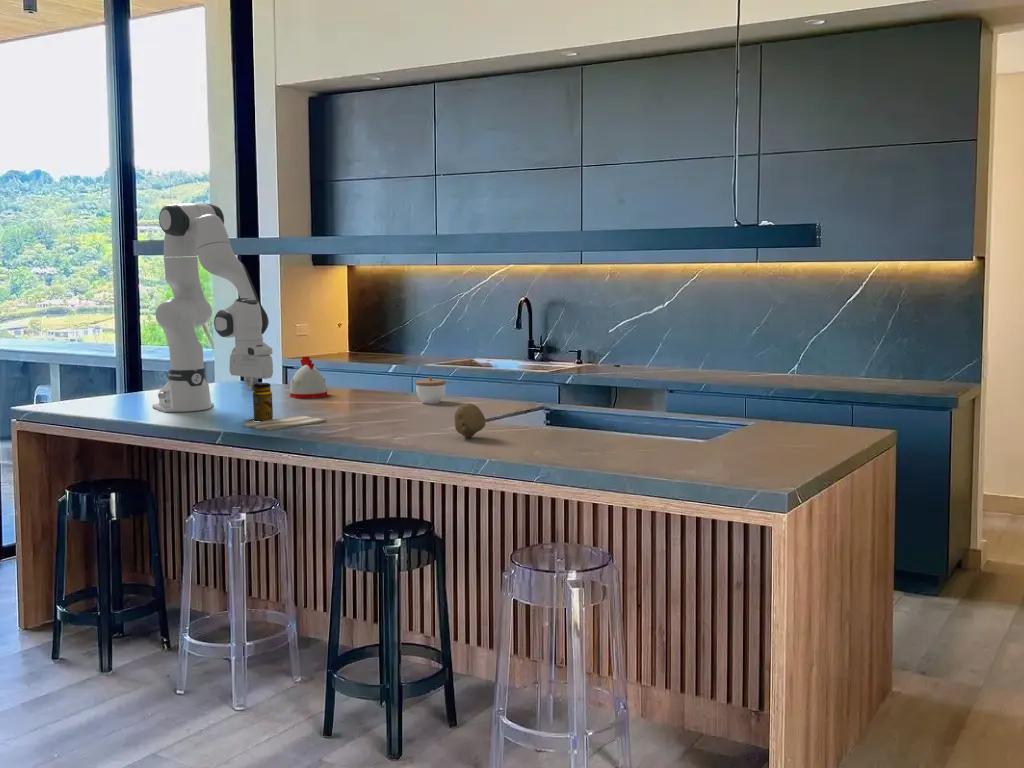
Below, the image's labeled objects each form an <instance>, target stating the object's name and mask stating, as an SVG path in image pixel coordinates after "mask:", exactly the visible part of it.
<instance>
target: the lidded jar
mask: <svg viewBox="0 0 1024 768" xmlns="http://www.w3.org/2000/svg"><path fill="white" fill-rule="evenodd" d="M446 384H447V383H446V380H444V379H439V378H433V376H429V377H428V379H426V378H425V379H418V380H416V381H415V391H416V395H417V397H418V399H419V400H420V401H421V402H422V404H427V405H429V404H432V405H433V404H439V403H440V402H441V401H442V399H443V398H444V396H445V394H446Z"/></svg>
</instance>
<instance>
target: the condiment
mask: <svg viewBox="0 0 1024 768" xmlns="http://www.w3.org/2000/svg"><path fill="white" fill-rule="evenodd" d="M252 401H253V404H252V405H253V418H245V419H244V421H246V422H247V423H253V422H254V421H266V420H273V419H274V414H273V413H274V412H273V411H274V409H273V393H272V391H271V384H270V383H268V382H257V384H254V391H252ZM253 420H254V421H253Z"/></svg>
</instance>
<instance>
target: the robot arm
mask: <svg viewBox="0 0 1024 768" xmlns="http://www.w3.org/2000/svg"><path fill="white" fill-rule="evenodd" d="M158 222H159V227H160V228H161V230H162V232H163V233H164V239H163V263H164V266H163V267H164V276H165V277H164V278H165V282H166V283H167V284H168V285H169V286H170V289H171V292H172V294H173V297H172V298H169V299H167V300H165V301H162V302H161V303H159V305H158V306H157V308H156V310H155V319H156V322H157V323H158V325H159V326H160V327H161V328H162V329H163V332H164V335H165V337H166V341H167V344H168V349H169V363H170V365H169V366H170V369H169V370H167V375H168V376H167V377H168V378H167V380H168V381H167V382H166V383H165V384H164V386H162V387H161V389H160V390H159V392H158V393H157V397H158V400H159V401H158V403H155V404H152V408H153V409H156V410H158V411H160V412H163V413H171V412H172V413H174V412H178V413H179V412H181V413H182V412H183V413H184V412H197V411H205V410H209V409H211V408H212V407H215V403H213V402H212V399H211V398H212V397H211V392H210V384H209V383H208V382H207V381H206V379H207V377H206V375H207V372H206V368H205V367H204V366H205V365H204V363H205V362H204V349H203V348H204V347H203V344H202V343H201V342H200V341H199V339H198V337H197V334H196V333H197V332H196V330H195V329H196V328H199V327H202V326H203V325H205V324H206V323H208V322H209V321H210V319H211V318H212V314H213V311H212V306H211V304H210V303H209V301H207V299H206V297H205V294H204V291H203V287H202V285H201V284H202V283H201V281H200V275H199V274H200V273H199V263H200V266H201V267H202V268H203V269H204V270H205V271H207V272H208V273H209V274H212V275H214V276H217V277H220V278H223V279H225V280H226V281H228V282H230V283H231V284H232V285H234V287H235V289H236V291H237V293H238V296H239V298H236V299H234V302H233V303H232V304H231V305H229V306H227V307H225V308H223V309H220V310H218V311H217V312H216V314H215V316H214V320H213V325H214V330H215V332H216V333H217V334H218V336H220V337H221V338H226V339H227V338H234V344H235V345H234V346H235V347H233V349H232V350H231V354H230V356H229V373H230V375H231V376H237V377H242V378H243V381H244V383H245V385H246V391H248V392H249V391H250V392H254V384H257V383H259V379H261V380H267V379H271V378H273V374H274V364H273V363H274V362H273V361H274V360H273V357H272V355H273V348H272V347H271V346H270V345H268V344H266V342H264V337H263V335H264V333H265V332H267V328H268V326H269V323H270V322H269V317H268V313H267V312H266V310H265V308H264V307H263V305H262V303H261V302H260V299H259V296H258V294H257V291H256V289H255V286H254V283H253V281H252V277H250V274H249V271H248V270H247V268H246V266H245V264H244V263H243V262H242V261H240V259H238V257H237V255H236V254H235V252H234V250H233V247H232V245H231V241H230V237H229V235H228V232H227V229H226V227H225V217H224V213H223V211H222V209H221V208H220V207H219V206H217V205H215V204H212V203H207V204H205V203H198V202H190V203H178V204H177V203H171V204H167V205H164V206H163V207H162V208H161V210H160V212H159V216H158ZM198 260H199V261H198Z"/></svg>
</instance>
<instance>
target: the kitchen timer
mask: <svg viewBox="0 0 1024 768" xmlns="http://www.w3.org/2000/svg"><path fill="white" fill-rule="evenodd" d="M300 365H301V367H300V368H298V370H297V371H296V372H295V374H294V375H293V377H292V378H290V388H289V398H292V399H318V398H325V397H327V396H328V389H327V385H326V377H323V375H322V374H321V372H320V371H319V370H318V369H317V368H316V367H315V363H313V360H312V359H310V356H302V358H301V359H300Z"/></svg>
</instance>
